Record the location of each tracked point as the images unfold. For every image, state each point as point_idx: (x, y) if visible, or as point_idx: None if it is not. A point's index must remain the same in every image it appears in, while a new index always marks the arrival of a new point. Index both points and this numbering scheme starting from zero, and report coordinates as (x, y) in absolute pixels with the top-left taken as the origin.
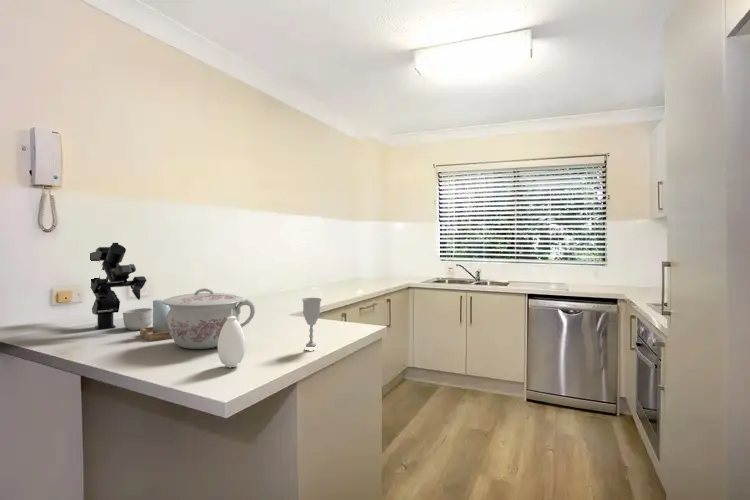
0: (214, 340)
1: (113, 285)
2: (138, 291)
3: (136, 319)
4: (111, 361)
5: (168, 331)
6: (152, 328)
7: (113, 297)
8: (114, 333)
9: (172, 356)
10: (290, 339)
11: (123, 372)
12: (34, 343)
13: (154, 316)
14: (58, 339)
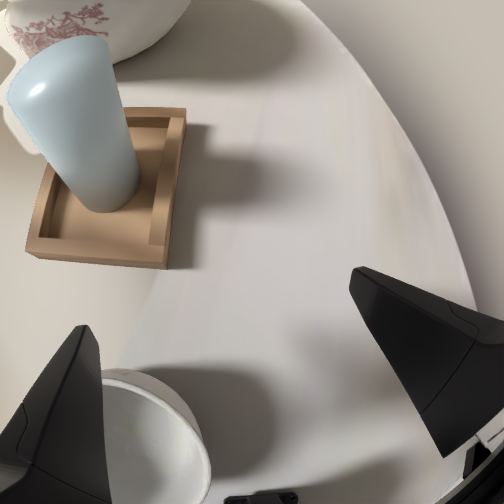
0: None
1: (458, 491)
2: (46, 397)
3: (145, 379)
4: (316, 44)
5: (185, 7)
6: (111, 243)
7: (393, 281)
8: (255, 383)
9: (209, 11)
10: (6, 33)
11: (303, 6)
12: None
13: (124, 117)
14: None
